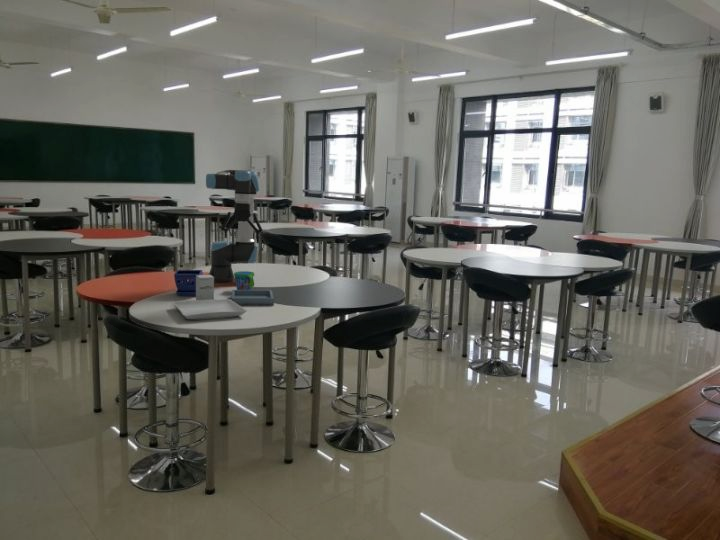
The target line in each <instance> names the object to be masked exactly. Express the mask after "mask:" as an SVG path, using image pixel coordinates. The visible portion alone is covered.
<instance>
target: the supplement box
mask: <svg viewBox="0 0 720 540" xmlns="http://www.w3.org/2000/svg"><path fill="white" fill-rule="evenodd" d="M214 291H215V282H214V277H213V276H212V275H209V274H202V275H196V296H195V300H215V296H214V295H215V294H214V293H215V292H214Z"/></svg>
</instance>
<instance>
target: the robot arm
mask: <svg viewBox="0 0 720 540" xmlns="http://www.w3.org/2000/svg"><path fill="white" fill-rule="evenodd" d="M258 176H259V175H258V172H256V171H254V170H253V171H252V170H241V169H240V170H239V169H238V170H237V169H227V170H221V171H218V172H216V173H207V174H206V175H205V187H206V188H207V189H211V190H228V191H234V202H235V203H234V208H233V209H234V212H231V211H228V212H227V216H226V218H225V220H224V222H223V224H222V226H221V227H220V230H221V231H223V232H224V238H225V239H226V240H219V241H216V242H213V243H211V247H210V249H211V250H210V253H211V254H210V255H211V257H210V258H211V259H210V261H211V262H210V264H211V265H210V270H209V273H208V275H212V276H213V277H214V283H229V282H230V283H231V281H232V282H234V281H233V280H234V279H235V276H234V272H233V267H232V264H255V262H256V260H257V253H258V247H259V244H258V241H257V240H259V239H260V233H262V232H263V230H264V229H263V228H262V225H261V223H260V221H259V219H258V215H257V213H256V212H254V207H255V206H254V205H255V204H254V202H255V201H254V200H255V196H257V194H258V192H259V191H260V186H259V178H258ZM233 216H234V219H233V220H232V221H231V222H230V223H229V221H230V219H231V217H233ZM254 222H255V224H256V225H255V224H254ZM228 223H229V224H228ZM235 223H238V229H237V231H238V232H237V233H238V234H237V238H236V239H235V242H234V243H233V241H232V240H230V231H229V230H230V229H231V228H232V227H233V226H234V224H235ZM226 226H227V227H226ZM256 226H257V227H256ZM254 231H255V232H254Z"/></svg>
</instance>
